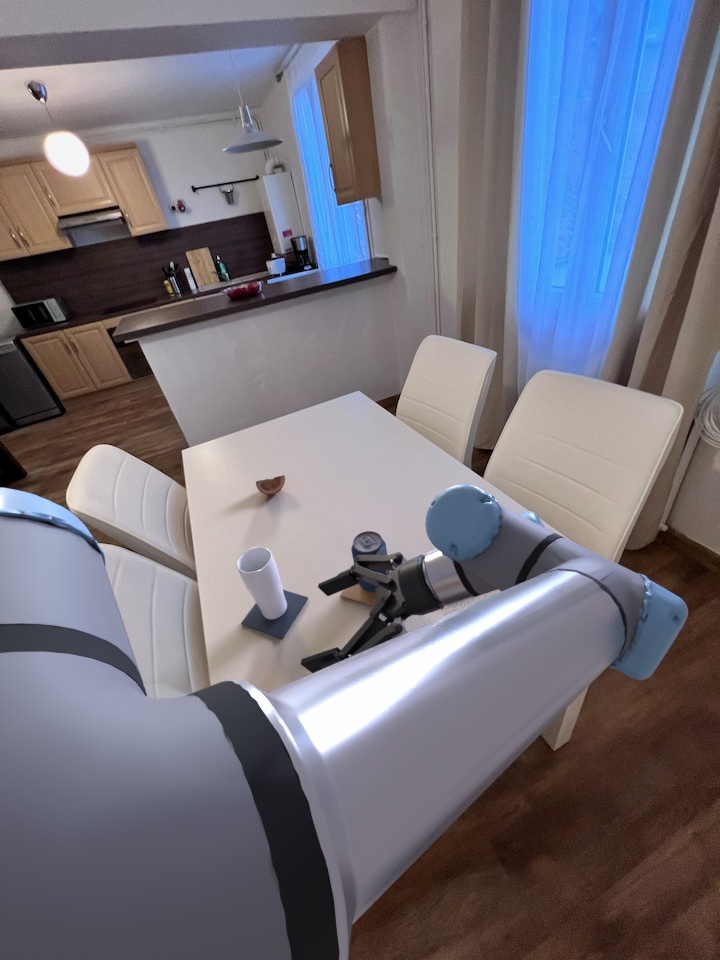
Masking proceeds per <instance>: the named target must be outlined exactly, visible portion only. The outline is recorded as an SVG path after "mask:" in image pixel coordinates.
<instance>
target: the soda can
mask: <svg viewBox="0 0 720 960" xmlns="http://www.w3.org/2000/svg"><path fill="white" fill-rule="evenodd" d="M382 537H383V536H381V534H380V533H378V532H376V531H371V530H368V531H363V532H360V533H359V534H357V535H356V536H355V537H354V539H353V541H352V545H351V555H352V560H353V565H354V564H355V563H356V561H355V557H356V556H357V555H388V550H387V544H386V542H385V540H384V539H383V538H382ZM371 571H373V572H376V573H377V572H379V573H382V574H384V575H389V574H390V570H371ZM357 579H358V580H359V585H360V586H361V587H362V588H363V589H364V590H366V591H368V592H375V589H376V588H377V586H375V585H372V584H370V583H368V582H366V581H364V580H362V581H361V580H360V579H359V578H357Z"/></svg>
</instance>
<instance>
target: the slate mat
mask: <svg viewBox="0 0 720 960" xmlns="http://www.w3.org/2000/svg"><path fill="white" fill-rule="evenodd" d="M283 592H284V596H285V599H286V602H287V609H286V611H285V613H284V614H283V615H282V616H281V617H279V618H277V619H267V618H265V617H264V616H263V615H262V613H261V611H260V609H259V607H258V605H257V604H256V603H255V604H254V605H253V606H252V608H251V609H250V610H249V612H248V613H247V614H246V616H245V618H244V619H243V620H242V621H241V623H240V624H241V625H242V626H245V627H247V628H250V629H252V630H255V631H259V632H262V633H264V634H267V635H269V636H273V637H275V638H277V639H281V640H283V639H284V638H285V636H286V634H287V633H288V631H289V630H290V628H291V627H292V625H293V623H294V622H295V620H296V619H297V617H298V616H299V614H300V612H301V610H303V608H304V605H305V604H306V603H307V601H308V599H309V597H308V596H306V595H302V594H299V593H295V592H292V591H289V590H285V589H283Z"/></svg>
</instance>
